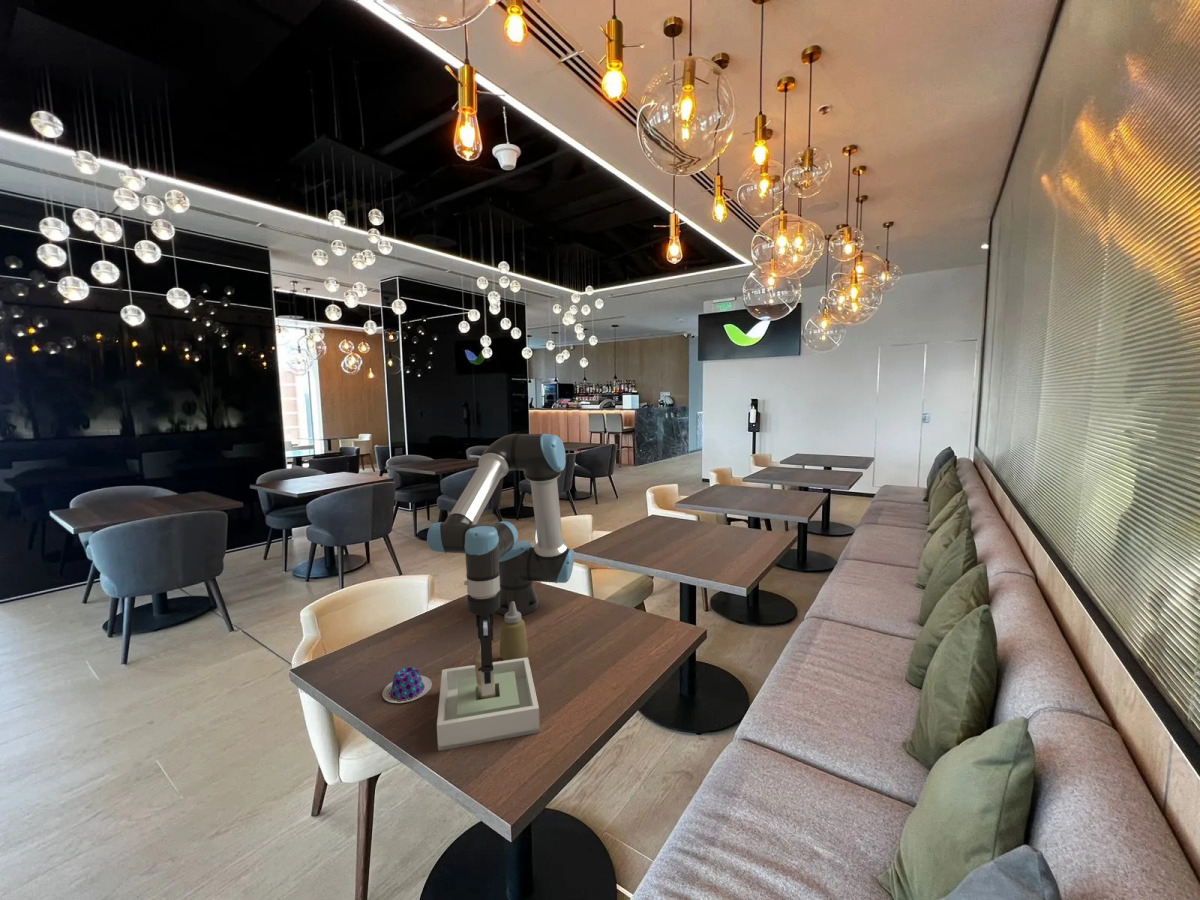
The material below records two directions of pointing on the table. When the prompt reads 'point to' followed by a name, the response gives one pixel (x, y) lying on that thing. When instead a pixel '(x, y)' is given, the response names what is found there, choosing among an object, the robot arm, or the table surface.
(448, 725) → the open box
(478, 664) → the peg
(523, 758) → the table surface
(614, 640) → the table surface
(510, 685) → the bore plate
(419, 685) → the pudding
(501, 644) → the squeeze bottle
